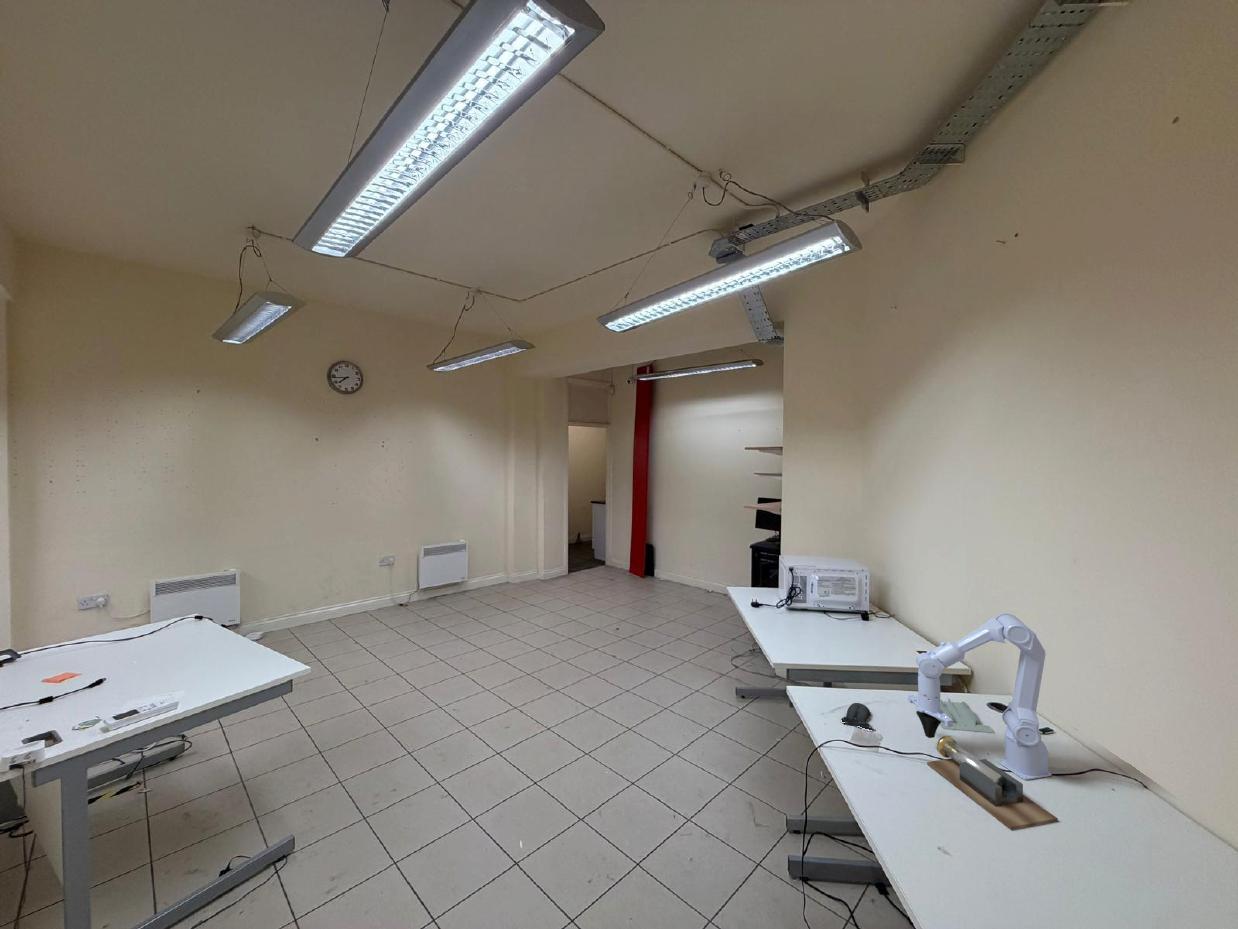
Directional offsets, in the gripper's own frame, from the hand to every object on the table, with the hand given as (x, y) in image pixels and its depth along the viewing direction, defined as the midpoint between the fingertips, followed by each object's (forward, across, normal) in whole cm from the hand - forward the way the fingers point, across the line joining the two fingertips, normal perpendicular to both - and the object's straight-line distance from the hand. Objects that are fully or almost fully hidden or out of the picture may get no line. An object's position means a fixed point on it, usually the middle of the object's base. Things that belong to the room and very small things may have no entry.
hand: (929, 736), depth 139 cm
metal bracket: (+5, -11, +22) cm, 26 cm away
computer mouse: (+5, -19, -10) cm, 22 cm away
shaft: (+2, +13, 0) cm, 13 cm away
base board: (+4, +19, 0) cm, 19 cm away
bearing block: (+4, +19, 0) cm, 19 cm away
